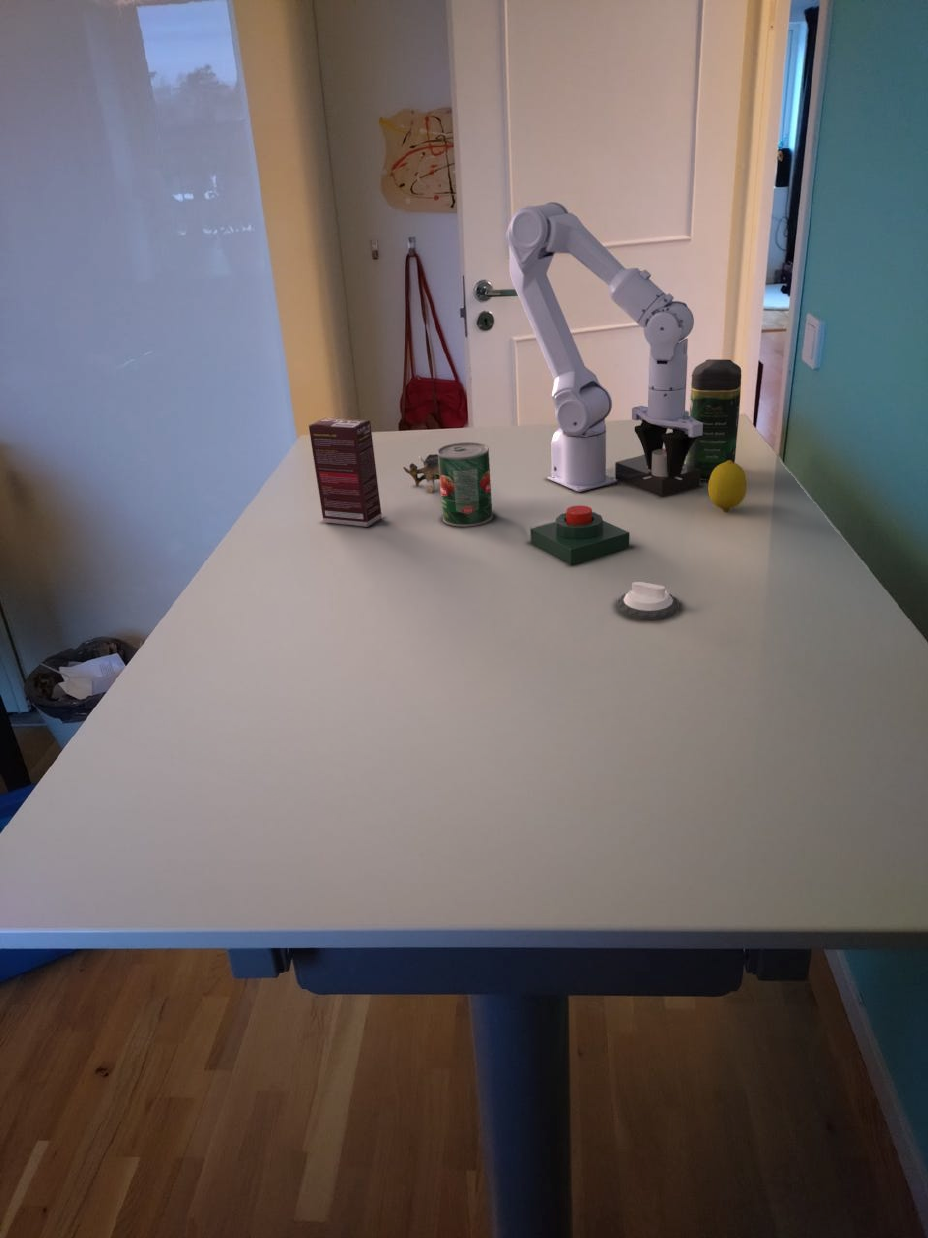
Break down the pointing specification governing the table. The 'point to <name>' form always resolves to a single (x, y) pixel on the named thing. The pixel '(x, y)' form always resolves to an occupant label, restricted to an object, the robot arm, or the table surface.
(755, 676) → the table surface
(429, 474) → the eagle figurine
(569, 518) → the button
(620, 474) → the rotary knob box
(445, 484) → the canned tomato
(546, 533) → the control block
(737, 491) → the lemon
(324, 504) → the supplement box
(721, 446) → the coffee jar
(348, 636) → the table surface
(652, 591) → the stove knob
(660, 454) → the dial
